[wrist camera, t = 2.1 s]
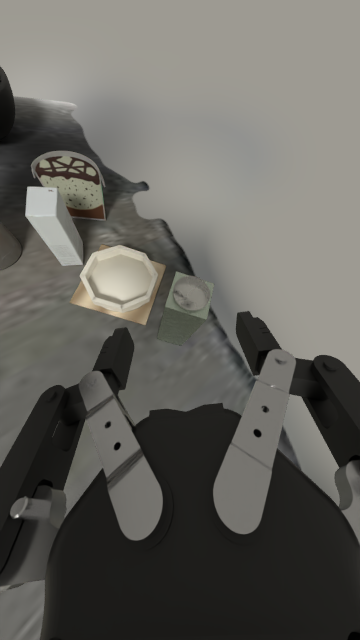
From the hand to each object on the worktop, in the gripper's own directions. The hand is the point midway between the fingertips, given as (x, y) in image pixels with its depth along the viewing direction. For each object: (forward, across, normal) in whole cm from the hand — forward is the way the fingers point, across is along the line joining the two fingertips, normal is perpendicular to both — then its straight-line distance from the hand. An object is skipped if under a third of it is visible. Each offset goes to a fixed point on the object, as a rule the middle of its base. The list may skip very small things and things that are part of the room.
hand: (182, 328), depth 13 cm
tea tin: (+17, +3, +15) cm, 23 cm away
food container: (+41, +21, -6) cm, 46 cm away
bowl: (+25, +13, +7) cm, 29 cm away
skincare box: (+29, +22, +1) cm, 37 cm away
